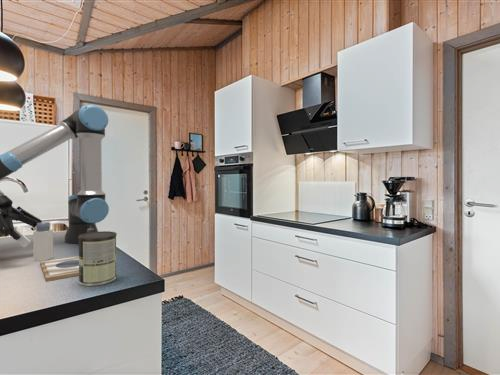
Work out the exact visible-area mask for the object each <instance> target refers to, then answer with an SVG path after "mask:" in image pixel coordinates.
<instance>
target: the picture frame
mask: <svg viewBox="0 0 500 375" xmlns="http://www.w3.org/2000/svg"><path fill="white" fill-rule="evenodd" d="M39 265H40V268H41V270H42V274H43V277H44V280H45V282H52V281H55V280H60V279H61V280H62V279H67V278H71V277H79V255H78V256H71V257H63V258H58V259H57V258H56V259H49V260H47V261H39Z"/></svg>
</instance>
